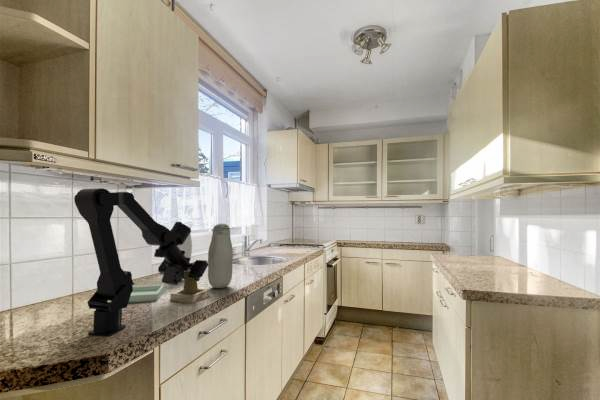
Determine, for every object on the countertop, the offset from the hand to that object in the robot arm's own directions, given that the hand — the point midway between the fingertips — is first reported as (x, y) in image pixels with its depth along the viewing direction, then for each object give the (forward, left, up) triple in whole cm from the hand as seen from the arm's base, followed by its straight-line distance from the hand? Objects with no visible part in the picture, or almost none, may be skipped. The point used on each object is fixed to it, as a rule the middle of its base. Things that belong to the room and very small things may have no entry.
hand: (193, 279), depth 115 cm
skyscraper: (+28, +19, -7) cm, 34 cm away
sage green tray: (-2, +20, -7) cm, 21 cm away
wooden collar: (-1, 0, -7) cm, 7 cm away
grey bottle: (+16, -5, -7) cm, 18 cm away
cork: (-1, 0, -7) cm, 7 cm away
